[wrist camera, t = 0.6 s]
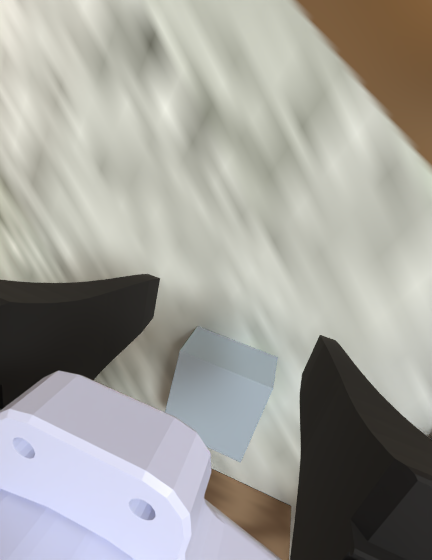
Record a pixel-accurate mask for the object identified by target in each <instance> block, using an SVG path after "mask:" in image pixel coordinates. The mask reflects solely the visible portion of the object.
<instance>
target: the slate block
mask: <svg viewBox="0 0 432 560" xmlns="http://www.w3.org/2000/svg"><path fill="white" fill-rule="evenodd" d="M277 359H278V357H276V356H273V355H271V354H268V353H266V352H263V351H260V350H258V349H255V348H253V347H250V346H248V345H245V344H242V343H240V342H237V341H235V340H232V339H230V338H227V337H225V336H222V335H219V334H217V333H214V332H212V331H209V330H207V329H204V328H201V327H199V326H197V328H196V329H195V330H194V332H193V333H192V335H191V336H190V337H189V339H188V340H187V341H186V343H185V344H184V346H183V347H182V348H181V350H180V353H179V357H178V361H177V365H176V369H175V373H174V377H173V381H172V386H171V390H170V394H169V398H168V402H167V406H166V410H165V412H166V413H168V414H170V415H172V416H175V417H176V418H178V419H179V420H181V421H182V422H184V423H185V424H187V425H188V426H190V427H191V428H193V429H194V430H195V431H196V432H197V433H198V435H199V436H200V438H201V439H202V441H203V442H204V444H205V446H206V447H208V448H210V449H213V450H215V451H217V452H219V453H221V454H223V455H225V456H228V457H230V458H232V459H234V460H236V461H238V462H240V463H241V461H242V458H243V456H244V454H245V451H246V449H247V447H248V445H249V442H250V440H251V438H252V435H253V433H254V431H255V429H256V426H257V424H258V422H259V419H260V417H261V415H262V413H263V410H264V408H265V406H266V403H267V401H268V399H269V397H270V394H271V392H272V390H273V385H274V379H275V372H276V365H277Z"/></svg>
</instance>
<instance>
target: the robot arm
mask: <svg viewBox="0 0 432 560" xmlns="http://www.w3.org/2000/svg"><path fill="white" fill-rule="evenodd" d="M159 281H160V278H157V277H154V276H152V275H149V274H141V275H132V276H126V277H119V278H113V279H106V280H97V281H89V282H77V283H30V282H17V281H7V280H0V560H282V559H280V558H279V557H278V556H276V555H275V554H274V553H273V552H271V551H270V550H269V549H268V548H266V547H265V546H264V545H263V544H261V543H260V542H259V541H258V540H256V539H255V538H254V537H252V536H251V535H250V534H249V533H247V532H246V531H245V530H244V529H242V528H241V527H240V526H239V525H237V524H236V523H235V522H233V521H232V520H231V519H230V518H228V517H227V516H226V515H225V514H223V513H222V512H221V511H220V510H218V509H217V508H216V507H214V506H213V505H212V504H211V503H209V502H208V501H207V500H206V499H204V495H205V491H206V488H207V485H208V482H209V478H210V475H211V453H210V452H209V450H208V449H207V447H206V446H205V444H204V442H203V441H202V439H201V438H200V436H199V435H198V433H197V432H196V431H195V430H194V429H193V428H191V427H190V426H188V425H187V424H185V423H184V422H182V421H181V420H179V419H178V418H176V417H175V416H172V415H170V414H168V413H166V412H163V411H161V410H159V409H157V408H154V407H152V406H150V405H148V404H145V403H143V402H141V401H139V400H136V399H134V398H132V397H129V396H127V395H125V394H123V393H120V392H118V391H116V390H114V389H111V388H109V387H107V386H105V385H102V384H100V383H98V382H96V381H93V380H94V379H95V378H96V377H97V375H98V374H99V373H100V372H101V371H102V370H103V369H104V368H105V367H106V366H107V365H108V364H109V363H110V362H111V361H112V360H113V359H114V358H115V357H116V356H117V355H118V354H119V353H120V352H121V351H123V350H124V349H125V348H126V347H127V346H128V345H129V344H130V343H131V342H132V341H133V340H134V339H135V338H136V337H137V336H138V335H139V334H140V333H141V332H142V331H143V330H144V329H145V327H146V326H147V325H148V324H149V322H150V321H151V320H152V318H153V316H154V310H155V304H156V299H157V293H158V287H159ZM300 432H301V461H300V473H299V485H298V495H297V505H296V515H295V523H294V531H293V540H292V548H291V556H290V560H432V440H431V439H429V438H428V437H427V436H426V435H425V434H423V433H422V432H421V431H420V430H419V429H417V428H416V427H415V426H414V425H413V424H411V423H410V422H409V421H408V420H407V419H406V418H405V417H403V416H402V415H401V414H400V413H399V412H398V411H397V410H396V409H395V408H394V407H393V406H392V405H391V404H390V403H389V402H388V401H387V400H386V399H385V398H384V397H383V396H382V395H381V394H380V393H379V392H378V391H377V390H376V389H375V388H374V386H373V385H372V384H371V383H370V382H369V381H368V380H367V379H366V377H365V376H364V375H363V374H362V373H361V371H360V370H359V369H358V368H357V366H356V365H355V364H354V363H353V361H352V360H351V359H350V358H349V356H348V355H347V354H346V352H345V351H344V350H343V349H342V347H341V346H340V345H339V344H338V343H337V342H336V340H333V339H330V338H327V337H324V336H322V335H320V336H319V338H318V341H317V343H316V345H315V347H314V349H313V352H312V354H311V356H310V358H309V360H308V362H307V365H306V367H305V369H304V371H303V373H302V380H301V388H300Z"/></svg>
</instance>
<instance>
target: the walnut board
mask: <svg viewBox="0 0 432 560" xmlns="http://www.w3.org/2000/svg"><path fill="white" fill-rule="evenodd" d="M204 499H206V500H207V501H208V502H209V503H211V504H212V505H213V506H214V507H216V508H217V509H218V510H220V511H221V512H222V513H223V514H225V515H226V516H227V517H228V518H230V519H231V520H232V521H233V522H235V523H236V524H237V525H239V526H240V527H241V528H242V529H244V530H245V531H246V532H247V533H249V534H250V535H251V536H252V537H254V538H255V539H256V540H258V541H259V542H260V543H261V544H263V545H264V546H265V547H266V548H268V549H269V550H270V551H271V552H273V553H274V554H275V555H276V556H278V557H279V558H280V559H282V560H289V548H290V523H291V506H290V505H287V504H285V503H283V502H281V501H279V500H277V499H275V498H273V497H270V496H268V495H266V494H264V493H262V492H260V491H258V490H256V489H254V488H251V487H249V486H247V485H245V484H243V483H241V482H239V481H237V480H234V479H232V478H230V477H228V476H226V475H224V474H222V473H220V472H217V471H215V470H213V469H211V475H210V478H209V482H208V485H207V488H206V491H205V495H204Z"/></svg>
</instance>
